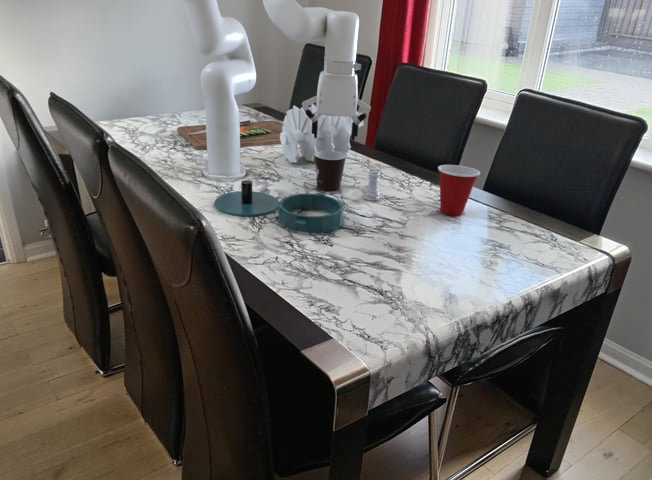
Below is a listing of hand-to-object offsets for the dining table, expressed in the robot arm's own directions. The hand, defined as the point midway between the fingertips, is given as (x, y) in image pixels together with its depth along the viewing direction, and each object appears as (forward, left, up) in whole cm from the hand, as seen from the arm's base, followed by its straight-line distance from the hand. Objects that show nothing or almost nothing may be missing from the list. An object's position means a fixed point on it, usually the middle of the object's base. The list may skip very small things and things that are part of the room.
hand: (334, 137), depth 148 cm
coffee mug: (-2, +10, -17) cm, 20 cm away
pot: (-1, -16, -17) cm, 23 cm away
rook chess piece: (+10, +6, -17) cm, 21 cm away
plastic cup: (+33, +4, -17) cm, 37 cm away
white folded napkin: (-12, +35, -17) cm, 41 cm away
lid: (-19, -12, -17) cm, 28 cm away
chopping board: (-45, +52, -17) cm, 71 cm away
